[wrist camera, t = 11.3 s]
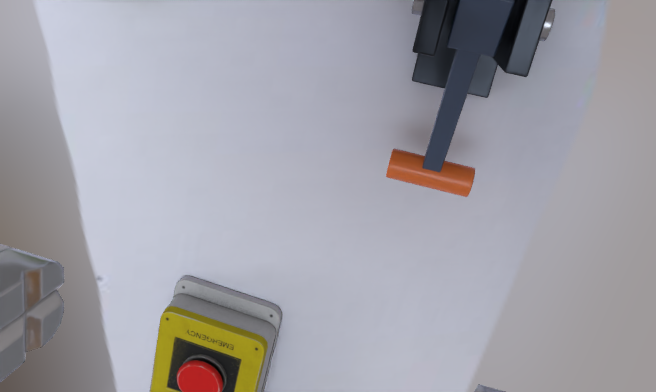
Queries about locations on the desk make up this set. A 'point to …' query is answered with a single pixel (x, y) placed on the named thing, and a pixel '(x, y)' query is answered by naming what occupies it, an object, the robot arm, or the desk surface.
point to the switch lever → (455, 97)
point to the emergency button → (214, 340)
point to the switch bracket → (512, 54)
